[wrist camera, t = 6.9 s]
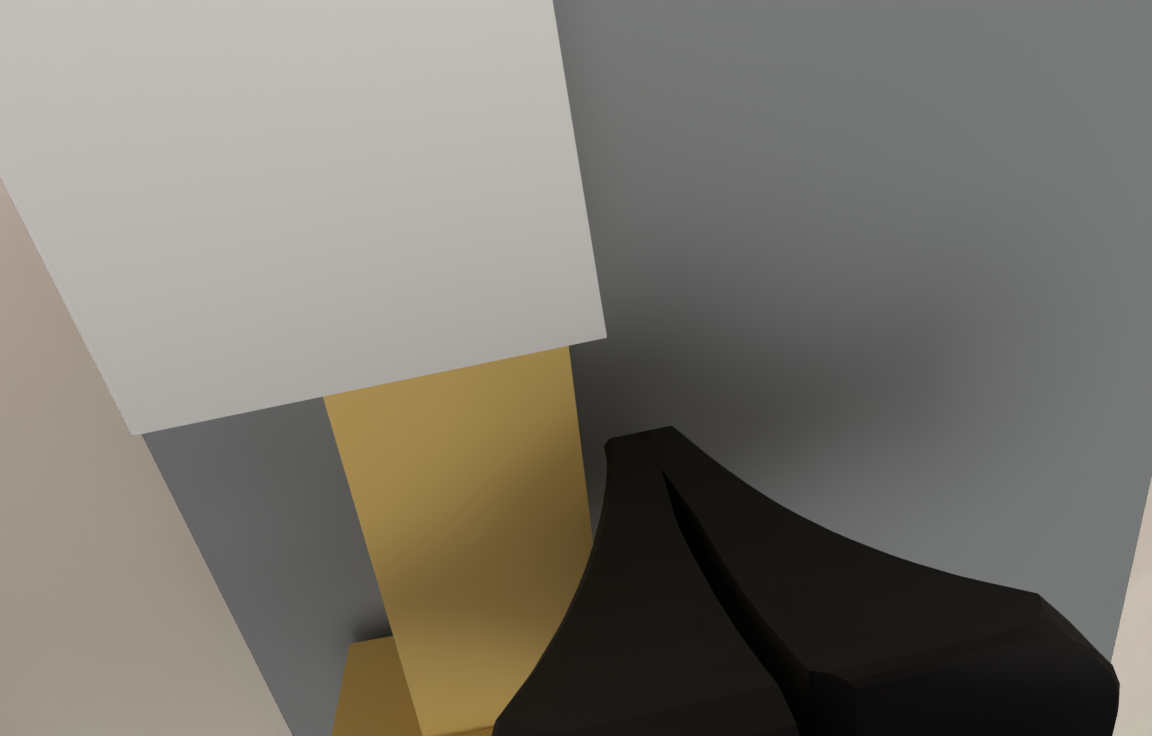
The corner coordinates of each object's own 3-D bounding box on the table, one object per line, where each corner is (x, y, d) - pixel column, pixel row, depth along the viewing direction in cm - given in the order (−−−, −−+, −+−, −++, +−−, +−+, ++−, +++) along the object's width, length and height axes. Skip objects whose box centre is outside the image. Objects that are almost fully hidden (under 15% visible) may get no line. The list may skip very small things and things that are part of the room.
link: (683, 791, 18) (722, 930, 15) (416, 844, 17) (405, 997, 14) (633, 63, 10) (689, 76, 8) (176, 121, 10) (68, 155, 7)
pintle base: (377, 854, 19) (345, 1138, 14) (-107, -162, 9) (-718, -360, 5) (1069, 690, 20) (1262, 905, 15) (1273, -392, 10) (1993, -768, 5)
